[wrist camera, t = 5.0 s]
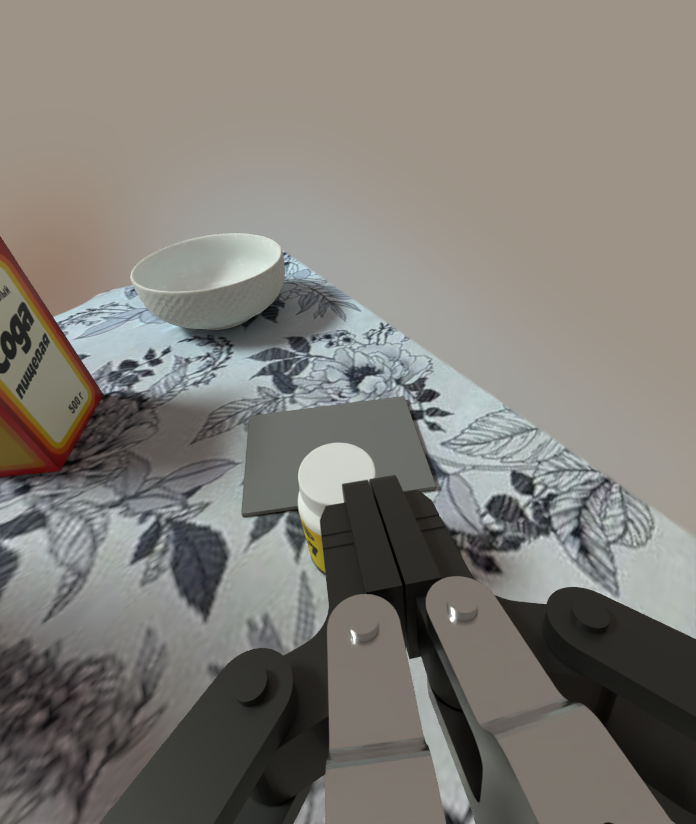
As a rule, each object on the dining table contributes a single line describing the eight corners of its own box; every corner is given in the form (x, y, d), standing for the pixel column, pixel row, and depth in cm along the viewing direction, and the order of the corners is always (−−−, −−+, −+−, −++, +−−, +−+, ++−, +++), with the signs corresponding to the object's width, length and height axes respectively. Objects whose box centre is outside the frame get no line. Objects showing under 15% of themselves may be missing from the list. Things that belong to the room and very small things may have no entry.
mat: (435, 489, 29) (435, 486, 28) (242, 516, 28) (241, 513, 28) (404, 399, 36) (404, 396, 35) (250, 419, 35) (249, 415, 35)
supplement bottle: (308, 522, 27) (289, 441, 21) (375, 512, 28) (373, 430, 22) (313, 592, 24) (291, 518, 18) (389, 579, 24) (392, 503, 18)
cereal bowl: (297, 279, 55) (289, 227, 50) (284, 347, 43) (272, 287, 38) (178, 286, 56) (158, 235, 51) (133, 355, 44) (101, 297, 39)
